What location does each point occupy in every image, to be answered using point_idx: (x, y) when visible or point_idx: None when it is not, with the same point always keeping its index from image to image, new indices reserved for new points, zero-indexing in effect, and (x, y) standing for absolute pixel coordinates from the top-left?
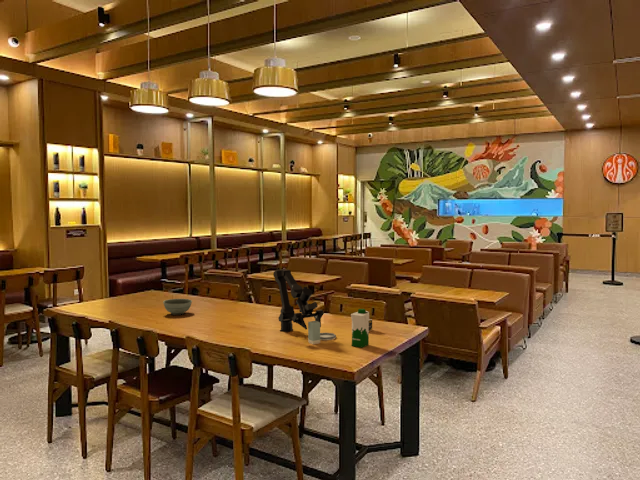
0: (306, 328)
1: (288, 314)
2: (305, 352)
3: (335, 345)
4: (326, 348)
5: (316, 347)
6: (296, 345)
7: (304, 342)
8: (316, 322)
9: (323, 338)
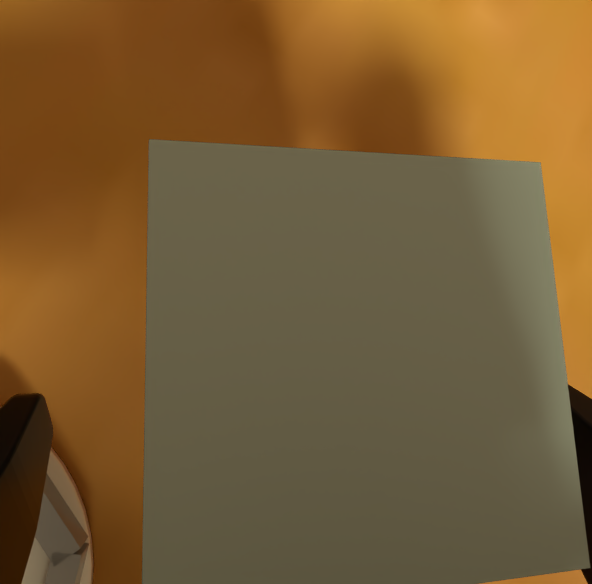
0: None
1: None
2: (545, 51)
3: (59, 59)
4: (258, 25)
5: (348, 139)
6: None
7: None
8: (322, 207)
9: None
